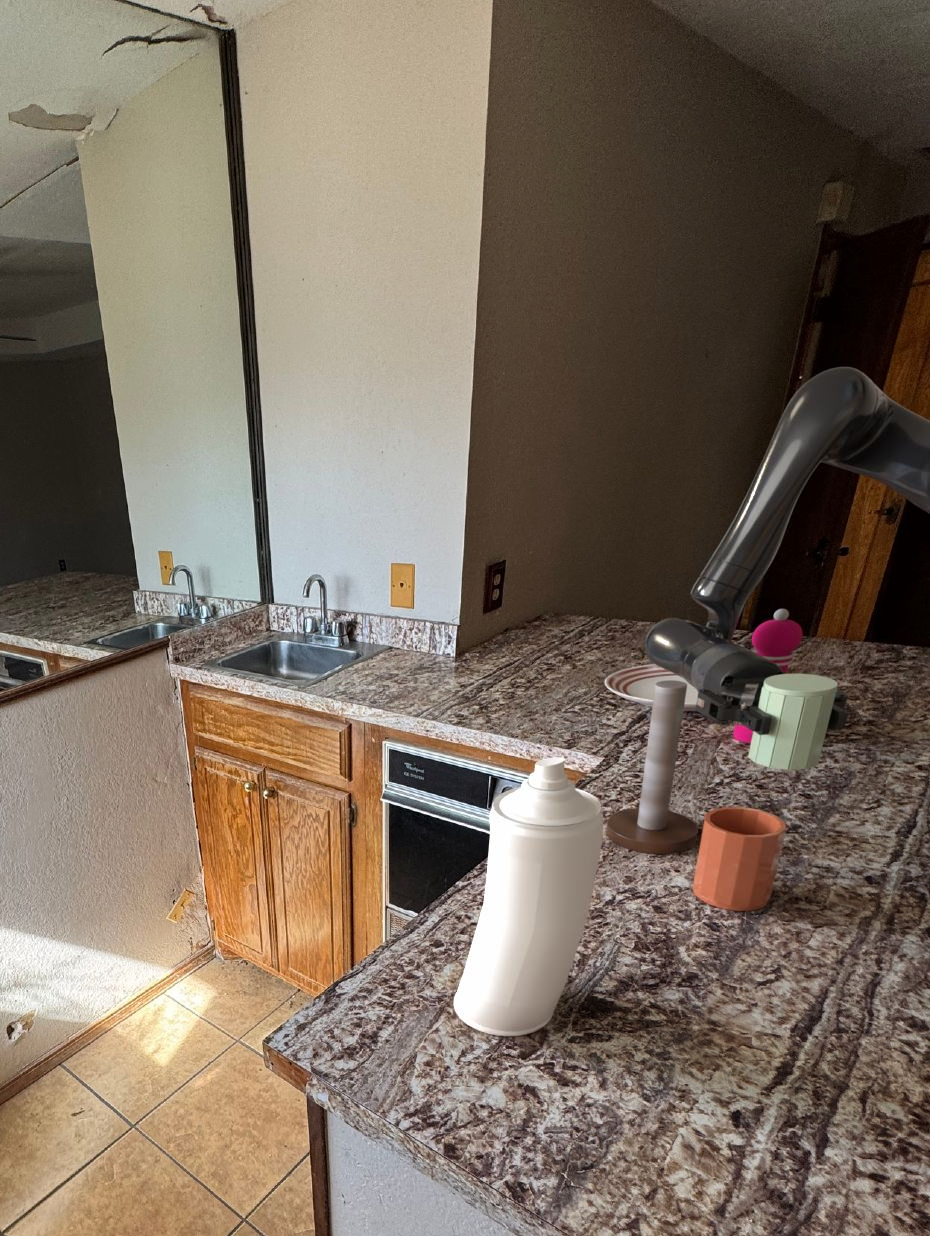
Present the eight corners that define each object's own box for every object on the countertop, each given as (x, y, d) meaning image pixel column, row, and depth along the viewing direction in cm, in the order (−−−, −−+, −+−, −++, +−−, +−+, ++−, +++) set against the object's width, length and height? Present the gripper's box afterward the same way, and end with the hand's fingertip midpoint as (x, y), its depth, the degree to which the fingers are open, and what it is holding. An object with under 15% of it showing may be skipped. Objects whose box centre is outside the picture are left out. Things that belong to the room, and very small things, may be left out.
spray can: (489, 952, 78) (496, 730, 67) (596, 986, 71) (625, 745, 60) (439, 1015, 71) (438, 777, 60) (553, 1060, 64) (577, 800, 53)
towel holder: (647, 811, 100) (666, 667, 91) (715, 839, 91) (744, 683, 83) (588, 830, 98) (603, 684, 89) (653, 862, 89) (676, 703, 80)
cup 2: (775, 743, 88) (791, 669, 84) (832, 760, 82) (853, 682, 78) (735, 756, 86) (749, 682, 82) (790, 774, 80) (809, 695, 76)
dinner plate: (596, 677, 152) (597, 661, 150) (754, 672, 142) (758, 655, 141) (612, 723, 129) (614, 705, 128) (801, 720, 119) (806, 701, 118)
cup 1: (723, 870, 85) (736, 801, 81) (785, 899, 79) (803, 825, 75) (676, 888, 84) (688, 817, 80) (737, 918, 77) (752, 843, 74)
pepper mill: (773, 749, 112) (801, 616, 103) (720, 740, 117) (743, 612, 108) (793, 735, 115) (822, 605, 106) (741, 726, 120) (764, 602, 112)
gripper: (677, 655, 94) (735, 696, 80) (805, 645, 91) (891, 685, 76) (668, 711, 97) (723, 760, 83) (792, 703, 94) (872, 752, 80)
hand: (803, 724), depth 80 cm, fingers closed on cup 2, 6 cm apart
